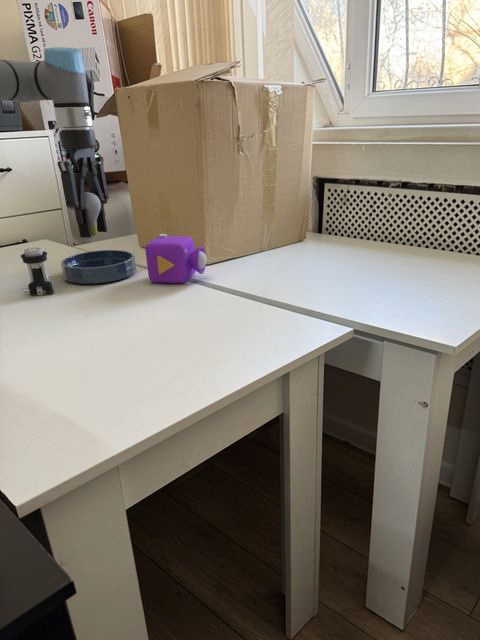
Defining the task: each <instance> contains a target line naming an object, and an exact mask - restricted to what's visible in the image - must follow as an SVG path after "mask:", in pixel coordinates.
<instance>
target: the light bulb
mask: <svg viewBox="0 0 480 640" xmlns="http://www.w3.org/2000/svg"><path fill="white" fill-rule="evenodd" d="M78 203H79V202H78ZM84 209H87V211H88V217H89V222H90V228H91V234H92V237H94V236H96V235H97V234H99V232H98V231H97V217H98V214H99V212H100V209H101V203H100V200H99V198H98V197H97V196H96V195H95V194H93V193H90V191H86V192H85V191H84Z"/></svg>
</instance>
